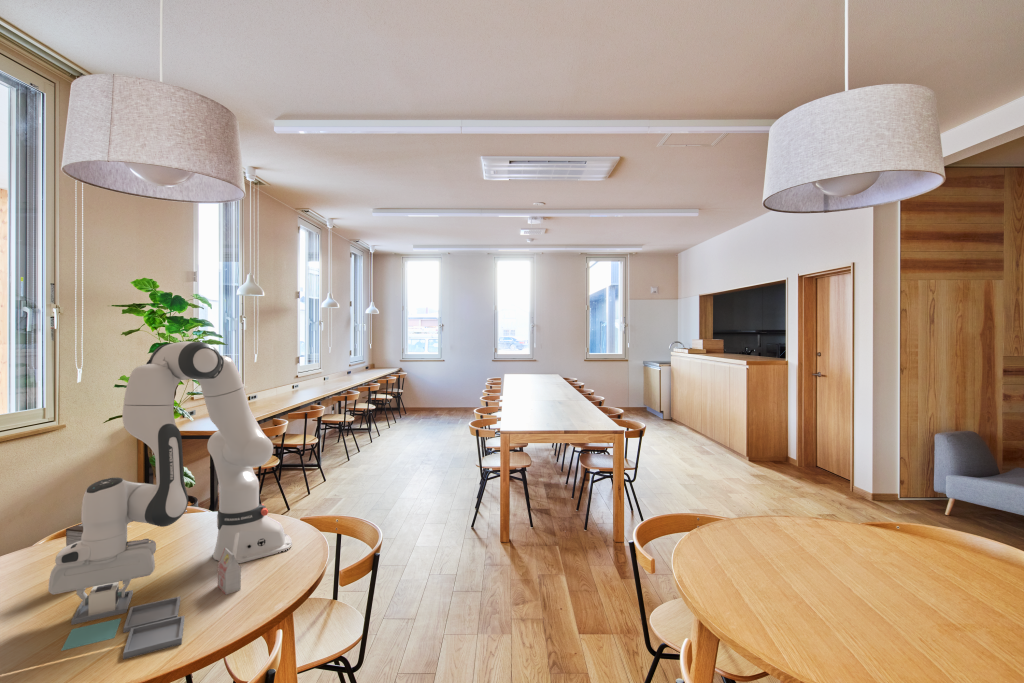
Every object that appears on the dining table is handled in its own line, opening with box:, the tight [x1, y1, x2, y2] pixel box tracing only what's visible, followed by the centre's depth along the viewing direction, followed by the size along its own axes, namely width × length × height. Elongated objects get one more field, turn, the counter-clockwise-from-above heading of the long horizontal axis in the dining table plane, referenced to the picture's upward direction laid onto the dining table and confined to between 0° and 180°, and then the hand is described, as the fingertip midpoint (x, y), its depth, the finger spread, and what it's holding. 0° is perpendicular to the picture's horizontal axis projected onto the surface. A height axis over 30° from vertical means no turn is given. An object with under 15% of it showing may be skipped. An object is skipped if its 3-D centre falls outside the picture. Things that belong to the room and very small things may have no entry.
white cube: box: [88, 581, 120, 616], centre depth 120 cm, size 5×5×5 cm
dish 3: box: [122, 615, 185, 660], centre depth 109 cm, size 10×10×1 cm
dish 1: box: [70, 589, 134, 626], centre depth 120 cm, size 10×10×1 cm
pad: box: [60, 617, 122, 652], centre depth 110 cm, size 9×9×1 cm
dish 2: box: [122, 595, 181, 634], centre depth 117 cm, size 10×10×1 cm
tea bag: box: [217, 548, 242, 596], centre depth 132 cm, size 4×7×10 cm, turn 47°
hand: (104, 600), depth 120 cm, fingers closed on white cube, 5 cm apart
